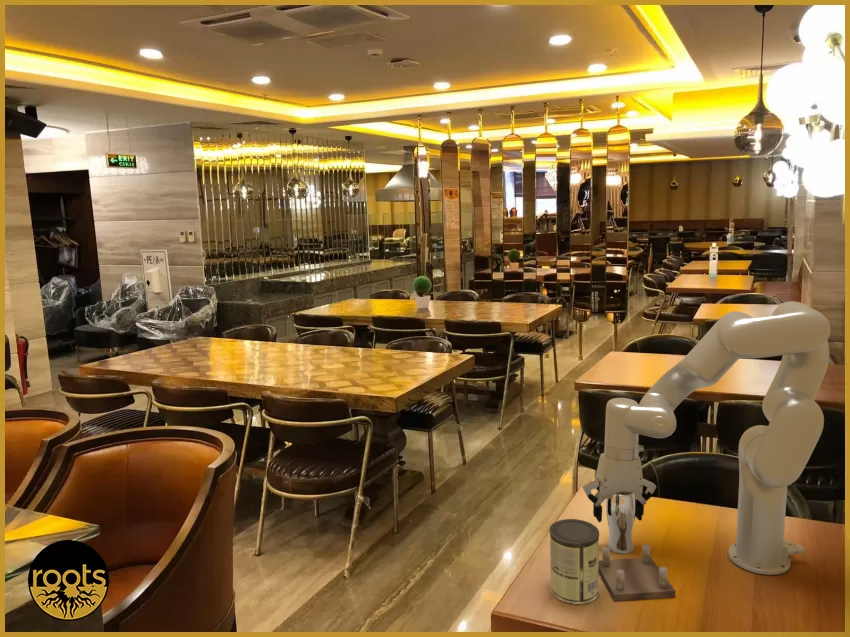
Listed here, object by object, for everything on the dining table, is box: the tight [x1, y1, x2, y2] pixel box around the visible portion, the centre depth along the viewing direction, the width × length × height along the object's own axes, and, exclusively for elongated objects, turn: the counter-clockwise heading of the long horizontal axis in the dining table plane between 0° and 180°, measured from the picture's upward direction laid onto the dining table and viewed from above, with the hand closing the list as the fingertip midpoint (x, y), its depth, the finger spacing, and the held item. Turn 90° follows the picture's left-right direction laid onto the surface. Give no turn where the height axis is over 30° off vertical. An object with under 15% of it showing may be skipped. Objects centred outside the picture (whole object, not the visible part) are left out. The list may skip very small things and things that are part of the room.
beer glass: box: [605, 492, 637, 555], centre depth 153 cm, size 7×7×15 cm
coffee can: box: [548, 518, 600, 605], centre depth 137 cm, size 10×10×14 cm
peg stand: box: [598, 543, 676, 602], centre depth 140 cm, size 13×13×6 cm
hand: (618, 518), depth 153 cm, fingers open, 9 cm apart
